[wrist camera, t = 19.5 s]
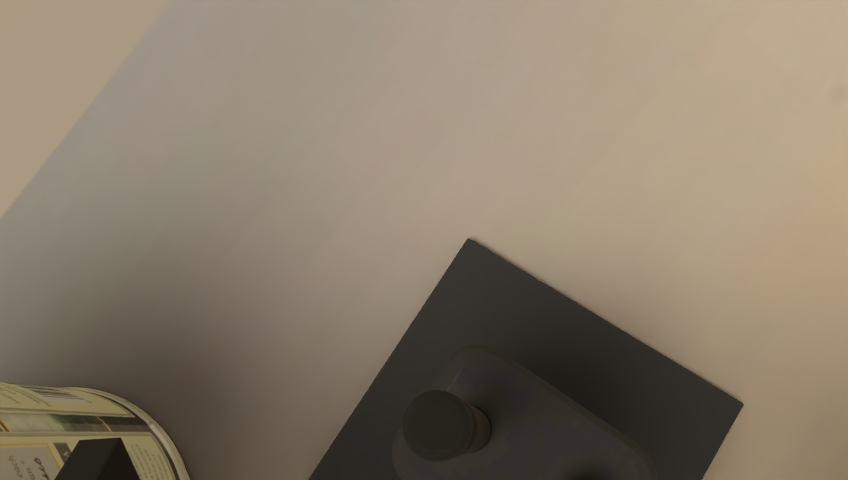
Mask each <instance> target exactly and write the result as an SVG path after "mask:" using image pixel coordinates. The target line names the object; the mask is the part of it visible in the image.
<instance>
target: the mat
mask: <svg viewBox="0 0 848 480" xmlns="http://www.w3.org/2000/svg"><path fill="white" fill-rule="evenodd" d="M470 344H481V345H488V346H490V347H492V348H495V349H497V350H499V351H501V352H503V353H504V354H506V355H507V356H509V357H510V358H512V359H513V360H514V361H516V362H517V363H519V364H520V365H522V366H523V367H525V368H526V369H528V370H529V371H531V372H532V373H534V374H535V375H537V376H538V377H540V378H541V379H543V380H544V381H546V382H547V383H549V384H550V385H551V386H553V387H554V388H556V389H557V390H559V391H560V392H562V393H563V394H565V395H566V396H568V397H569V398H571V399H572V400H574V401H575V402H577V403H578V404H580V405H581V406H583V407H584V408H586V409H587V410H588V411H590V412H591V413H593V414H594V415H596V416H597V417H599V418H600V419H602V420H603V421H605V422H606V423H608V424H609V425H611V426H612V427H614V428H615V429H617V430H618V431H620V432H621V433H623V434H624V435H626V436H627V437H628V438H630V439H631V440H633V441H634V442H636V443H637V444H638V445H639V446H640V447H641V448H642V449H643V450H644V451H645V452H646V453H647V454H648V455H649V457H650V458H651V460H652V462H653V464H654V466H655V468H656V471H657V480H702V478H703V476H704V474H705V472H706V471H707V469H708V467H709V465H710V464H711V462H712V460H713V458H714V456H715V455H716V453H717V451H718V449H719V448H720V446H721V444H722V442H723V440H724V439H725V437H726V435H727V433H728V432H729V430H730V428H731V426H732V424H733V423H734V421H735V419H736V417H737V416H738V414H739V412H740V410H741V408H742V407H743V403H741V402H740V401H738V400H737V399H735V398H733V397H732V396H730V395H728V394H727V393H725V392H723V391H722V390H720V389H718V388H717V387H715V386H713V385H712V384H710V383H708V382H707V381H705V380H703V379H702V378H700V377H698V376H697V375H695V374H693V373H692V372H690V371H688V370H687V369H685V368H683V367H682V366H680V365H678V364H677V363H675V362H673V361H672V360H670V359H668V358H667V357H665V356H663V355H662V354H660V353H658V352H657V351H655V350H653V349H652V348H650V347H648V346H647V345H645V344H643V343H642V342H640V341H639V340H637V339H635V338H634V337H632V336H630V335H629V334H627V333H625V332H624V331H622V330H620V329H619V328H617V327H615V326H614V325H612V324H610V323H609V322H607V321H605V320H604V319H602V318H600V317H599V316H597V315H595V314H594V313H592V312H590V311H589V310H587V309H585V308H584V307H582V306H580V305H579V304H577V303H575V302H574V301H572V300H570V299H569V298H567V297H565V296H564V295H562V294H560V293H559V292H557V291H555V290H554V289H552V288H550V287H549V286H547V285H546V284H544V283H542V282H541V281H539V280H537V279H536V278H534V277H532V276H531V275H529V274H527V273H526V272H524V271H522V270H521V269H519V268H517V267H516V266H514V265H512V264H511V263H509V262H507V261H506V260H504V259H502V258H501V257H499V256H497V255H496V254H494V253H492V252H491V251H489V250H487V249H486V248H484V247H482V246H481V245H479V244H477V243H476V242H474V241H472V240H471V239H467V240H466V242H465V243H464V245H463V246H462V248H461V249H460V251H459V252H458V254H457V256H456V257H455V259H454V260H453V262H452V263H451V265H450V266H449V268H448V269H447V271H446V272H445V274H444V275H443V277H442V278H441V280H440V281H439V283H438V284H437V286H436V287H435V289H434V290H433V292H432V293H431V295H430V296H429V298H428V299H427V301H426V302H425V304H424V306H423V307H422V309H421V310H420V312H419V313H418V315H417V316H416V318H415V319H414V321H413V322H412V324H411V325H410V327H409V328H408V330H407V331H406V333H405V334H404V336H403V337H402V339H401V340H400V342H399V343H398V345H397V346H396V348H395V349H394V351H393V352H392V354H391V356H390V357H389V359H388V360H387V362H386V363H385V365H384V366H383V368H382V369H381V371H380V372H379V374H378V375H377V377H376V378H375V380H374V381H373V383H372V384H371V386H370V387H369V389H368V390H367V392H366V393H365V395H364V396H363V398H362V399H361V401H360V402H359V404H358V406H357V407H356V409H355V410H354V412H353V413H352V415H351V416H350V418H349V419H348V421H347V422H346V424H345V425H344V427H343V428H342V430H341V431H340V433H339V434H338V436H337V437H336V439H335V440H334V442H333V443H332V445H331V446H330V448H329V449H328V451H327V452H326V454H325V456H324V457H323V459H322V460H321V462H320V463H319V465H318V466H317V468H316V469H315V471H314V472H313V474H312V475H311V477H310V478H309V480H402V479H401V478H400V477H399V476H398V473H397V471H396V469H395V466H394V464H393V461H392V445H393V443H394V440H395V438H396V435H397V433H398V431H399V430H400V428H401V427H402V418H403V415H404V412H405V410H406V408H407V406H408V404H409V403H410V402H411V401H412V400H413V399H414V398H415V397H416V396H418V395H419V394H420V392H421V391H422V390H423V388H424V387H425V385H426V384H427V383H428V382H429V381H432V380H434V378H435V377H436V375H437V374H438V372H439V371H440V370H441V368H442V367H443V365H444V364H445V362H446V361H447V359H448V358H449V357H450V356H451V355H452V354H453V353H454V352H455V351H456V350H457V349H458V348H461V347H464V346H467V345H470Z"/></svg>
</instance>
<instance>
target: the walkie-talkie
mask: <svg viewBox="0 0 848 480" xmlns="http://www.w3.org/2000/svg"><path fill="white" fill-rule="evenodd" d="M392 461H393V464H394V466H395V469H396V471H397V473H398V476H399V477H400V478H401V479H402V480H657V471H656V468H655V466H654V464H653V462H652V460H651V458H650V457H649V455H648V454H647V453H646V452H645V451H644V450H643V449H642V448H641V447H640V446H639V445H638V444H637V443H636V442H634V441H633V440H631V439H630V438H628V437H627V436H626V435H624V434H623V433H621V432H620V431H618V430H617V429H615V428H614V427H612V426H611V425H609V424H608V423H606V422H605V421H603V420H602V419H600V418H599V417H597V416H596V415H594V414H593V413H591V412H590V411H588V410H587V409H586V408H584V407H583V406H581V405H580V404H578V403H577V402H575V401H574V400H572V399H571V398H569V397H568V396H566V395H565V394H563V393H562V392H560V391H559V390H557V389H556V388H554V387H553V386H551V385H550V384H549V383H547V382H546V381H544V380H543V379H541V378H540V377H538V376H537V375H535V374H534V373H532V372H531V371H529V370H528V369H526V368H525V367H523V366H522V365H520V364H519V363H517V362H516V361H514V360H513V359H512V358H510V357H509V356H507V355H506V354H504V353H503V352H501V351H499V350H497V349H495V348H492V347H490V346H488V345H481V344H470V345H467V346H464V347H461V348H458V349H457V350H456V351H455V352H454V353H453V354H452V355H451V356H450V357H449V358H448V359H447V361H446V362H445V364H444V365H443V367H442V368H441V370H440V371H439V372H438V374H437V375H436V377H435V378H434V380H432V381H429V382H428V383H427V384H426V385H425V387H424V388H423V390H422V391H421V392H420V394H419V395H418V396H416V397H415V398H414V399H413V400H412V401H411V402H410V403H409V404H408V406H407V408H406V410H405V412H404V415H403V418H402V427H401V428H400V430H399V431H398V433H397V435H396V438H395V440H394V443H393V445H392Z"/></svg>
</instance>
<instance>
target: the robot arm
mask: <svg viewBox="0 0 848 480" xmlns="http://www.w3.org/2000/svg"><path fill="white" fill-rule="evenodd" d="M54 480H140V478H139V475H138V473H137V471H136V469H135V467H134V465H133V462H132V460H131V458H130V456H129V454H128V452H127V450H126V447H125V445H124V443H123V441H122V439H121V437H118V438H103V439H88V440H79V441H78V443H77V445H76V446H75V448H74V449H73V451H72V453H71V454H70V456H69V457H68V459H67V460H66V462H65V464H64V465H63V467H62V468H61V470H60V471H59V473H58V475H57V476H56V478H55V479H54Z"/></svg>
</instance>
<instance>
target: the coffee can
mask: <svg viewBox="0 0 848 480" xmlns="http://www.w3.org/2000/svg"><path fill="white" fill-rule="evenodd" d="M118 437H121V439H122V441H123V443H124V445H125V447H126V450H127V452H128V454H129V456H130V458H131V460H132V462H133V465H134V467H135V469H136V471H137V473H138V475H139V478H140V480H191V479H190V477H189V475H188V473H187V471H186V468H185V465H184V463H183V460H182V458H181V456H180V454H179V453H178V451H177V449H176V447H175V445H174V444H173V442H172V440H171V439H170V438H169V436H168V435H167V434H166V432H165V431H164V430H163V429H162V428H161V427H160V425H159V424H158V423H157V422H156V421H155V420H154V419H152V418H151V417H150V416H149V415H148V414H147V413H145V412H144V411H143V410H141V409H140V408H139V407H137V406H136V405H134V404H132V403H131V402H129V401H128V400H127V399H124V398H121V397H118V396H116V395H113V394H110V393H107V392H104V391H100V390H95V389H90V388H80V387H62V388H55V387H45V386H35V385H25V384H13V383H3V382H0V480H54V479H55V478H56V476H57V475H58V473H59V471H60V470H61V468H62V467H63V465H64V464H65V462H66V460H67V459H68V457H69V456H70V454H71V453H72V451H73V449H74V448H75V446H76V445H77V443H78V441H79V440H88V439H103V438H118Z"/></svg>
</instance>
